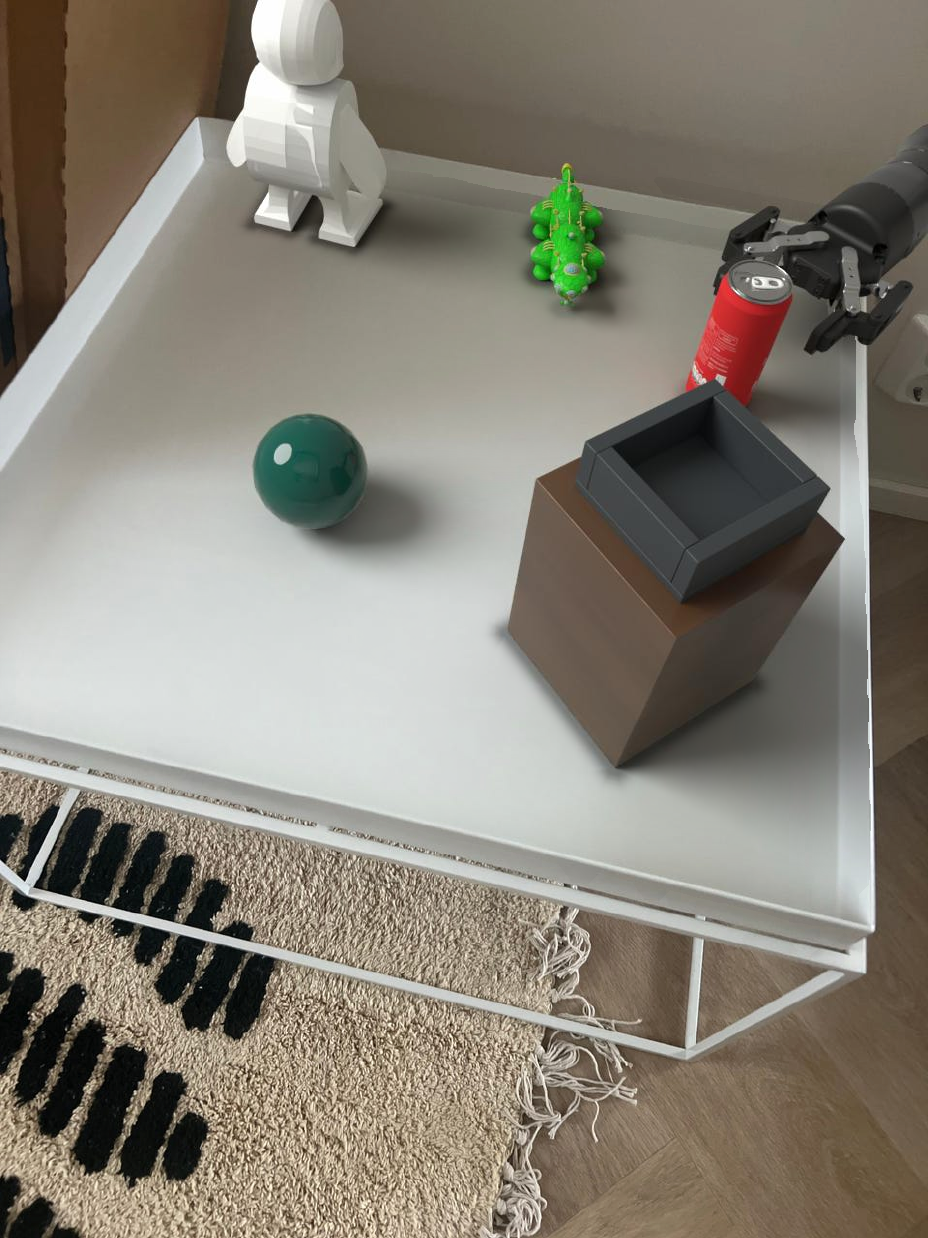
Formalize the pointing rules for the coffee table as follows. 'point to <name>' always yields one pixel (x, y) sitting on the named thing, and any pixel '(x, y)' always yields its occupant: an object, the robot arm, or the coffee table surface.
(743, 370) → the beverage can
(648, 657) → the stand
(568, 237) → the crocodile figurine
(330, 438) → the sphere
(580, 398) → the coffee table surface
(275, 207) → the toy robot
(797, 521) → the socket
